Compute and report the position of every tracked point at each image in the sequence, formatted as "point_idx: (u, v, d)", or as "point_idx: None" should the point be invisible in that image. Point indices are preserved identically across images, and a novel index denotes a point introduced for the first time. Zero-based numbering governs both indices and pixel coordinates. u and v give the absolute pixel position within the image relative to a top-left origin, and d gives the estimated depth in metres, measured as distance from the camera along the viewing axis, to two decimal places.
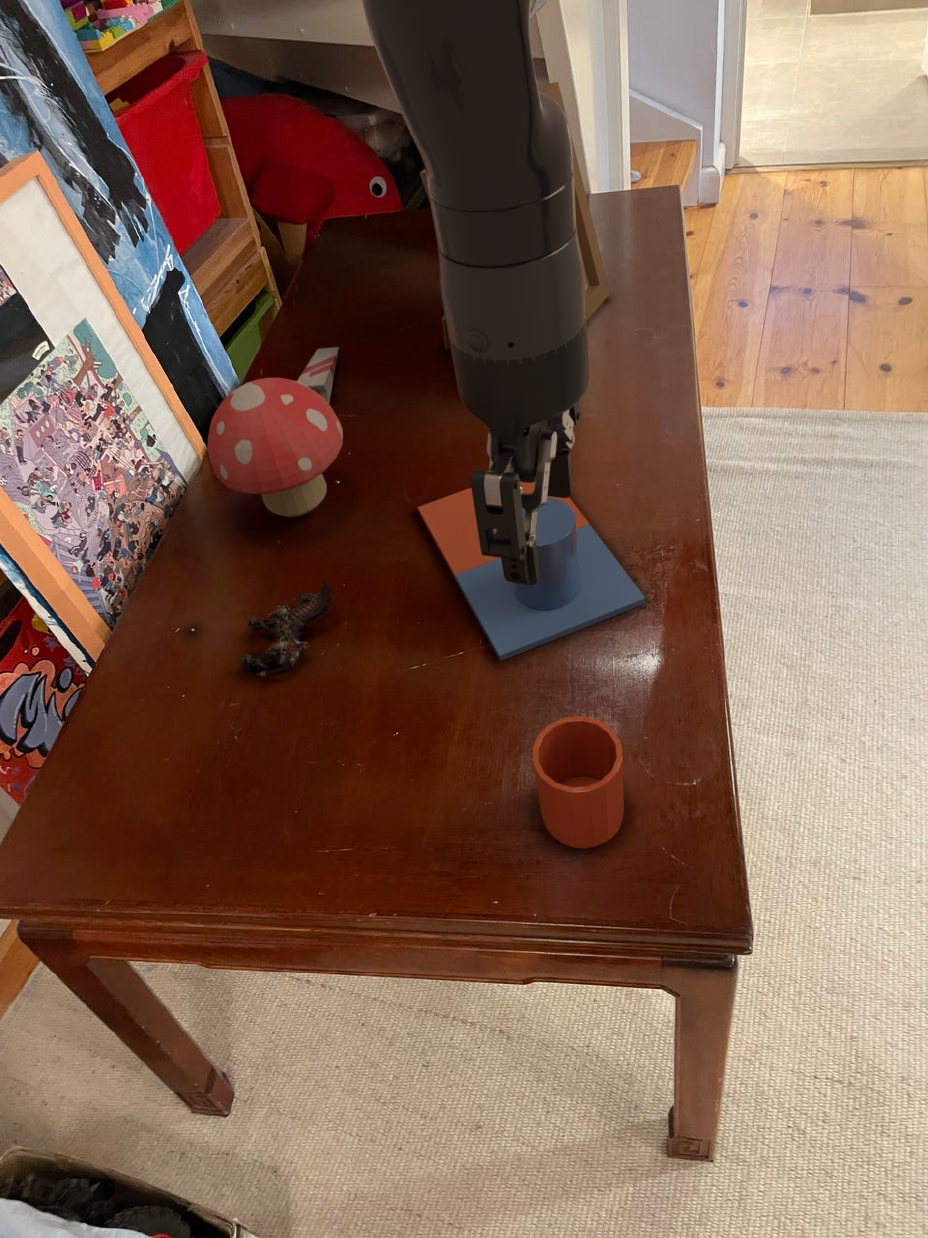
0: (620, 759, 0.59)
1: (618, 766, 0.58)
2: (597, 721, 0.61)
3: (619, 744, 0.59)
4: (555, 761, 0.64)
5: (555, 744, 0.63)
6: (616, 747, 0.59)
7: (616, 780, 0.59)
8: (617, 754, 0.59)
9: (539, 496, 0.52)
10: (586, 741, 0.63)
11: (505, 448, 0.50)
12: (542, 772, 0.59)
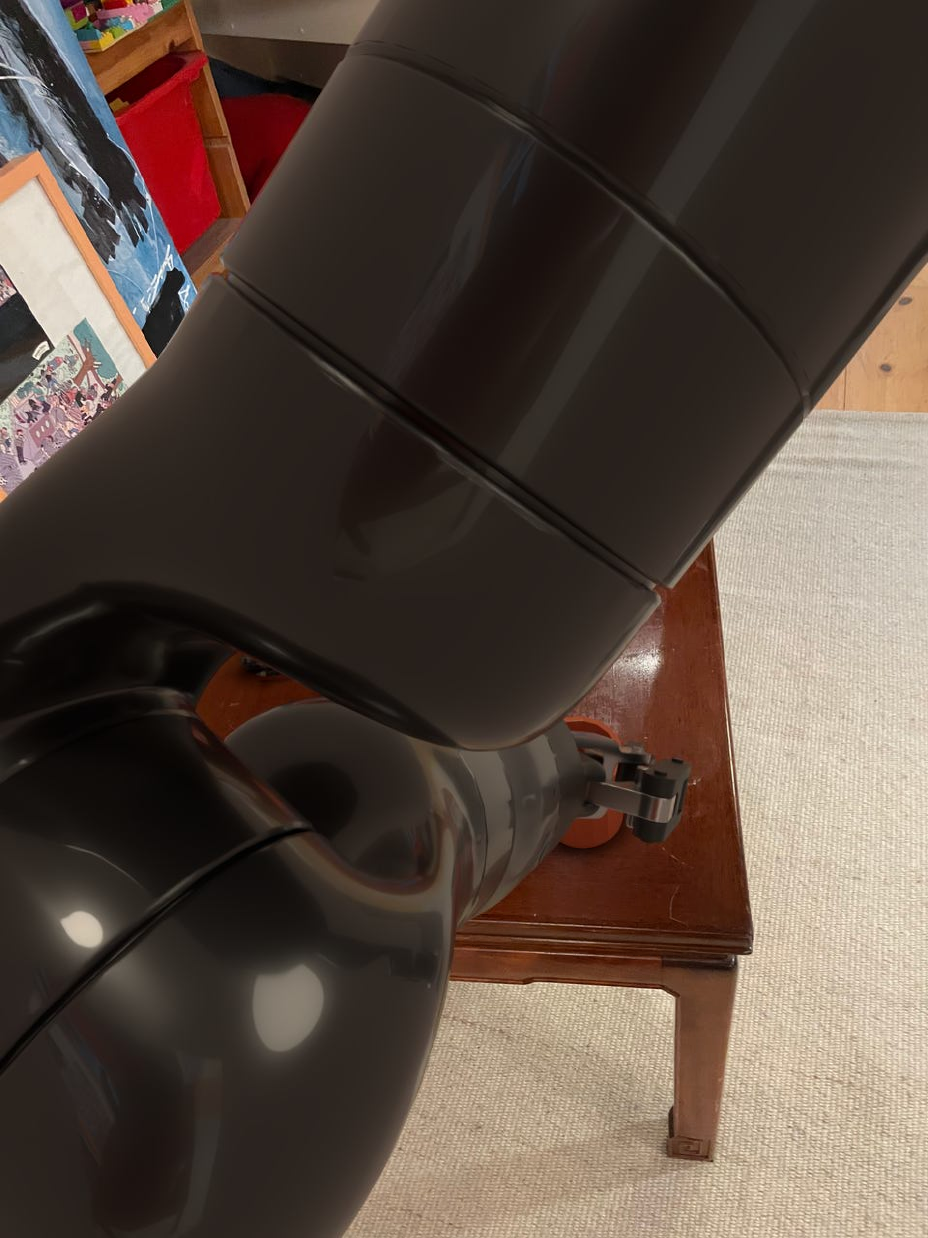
0: None
1: None
2: (597, 721, 0.61)
3: (619, 744, 0.59)
4: None
5: None
6: None
7: None
8: None
9: (607, 742, 0.37)
10: None
11: (585, 794, 0.34)
12: None
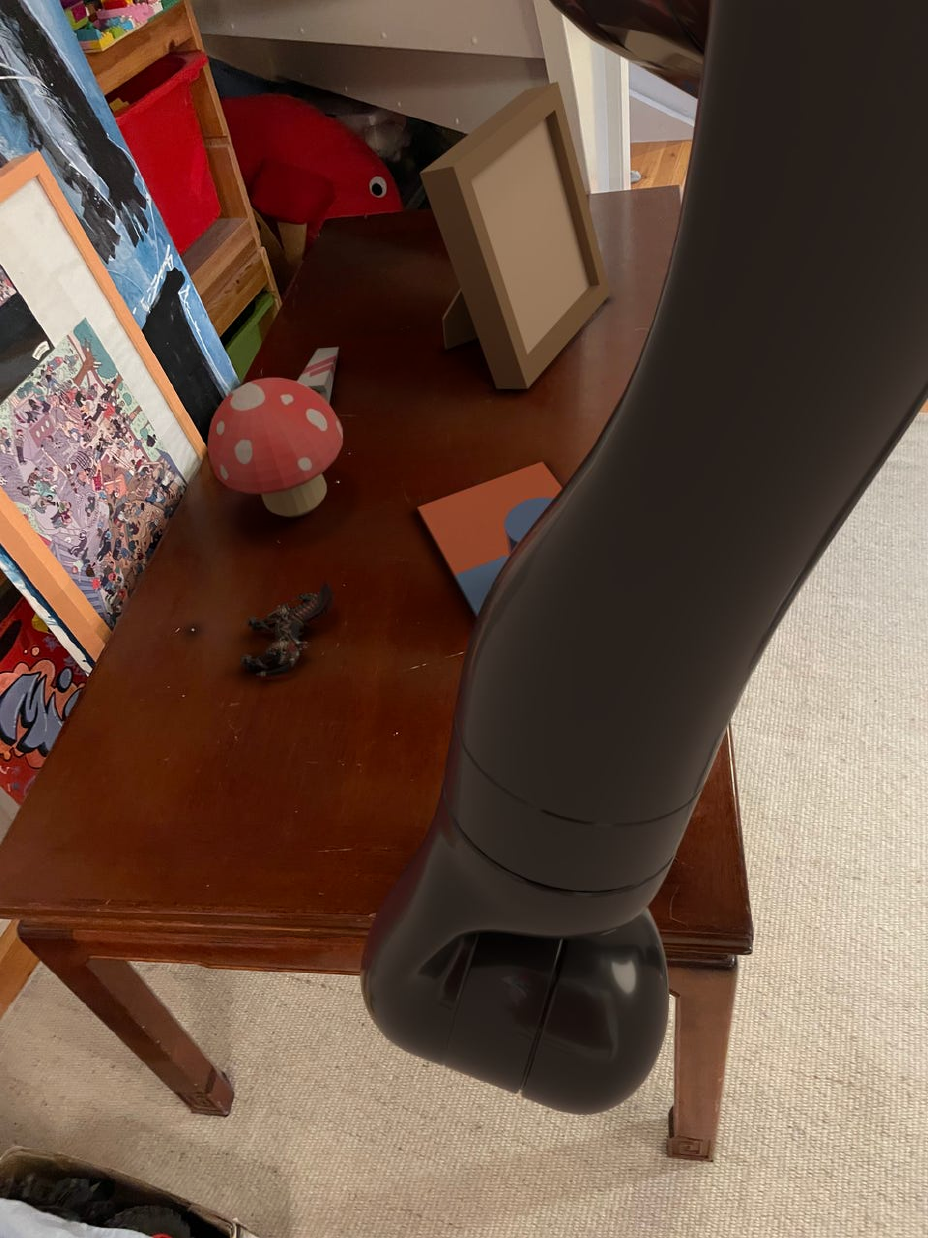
0: None
1: None
2: None
3: None
4: None
5: None
6: None
7: None
8: None
9: None
10: None
11: None
12: None
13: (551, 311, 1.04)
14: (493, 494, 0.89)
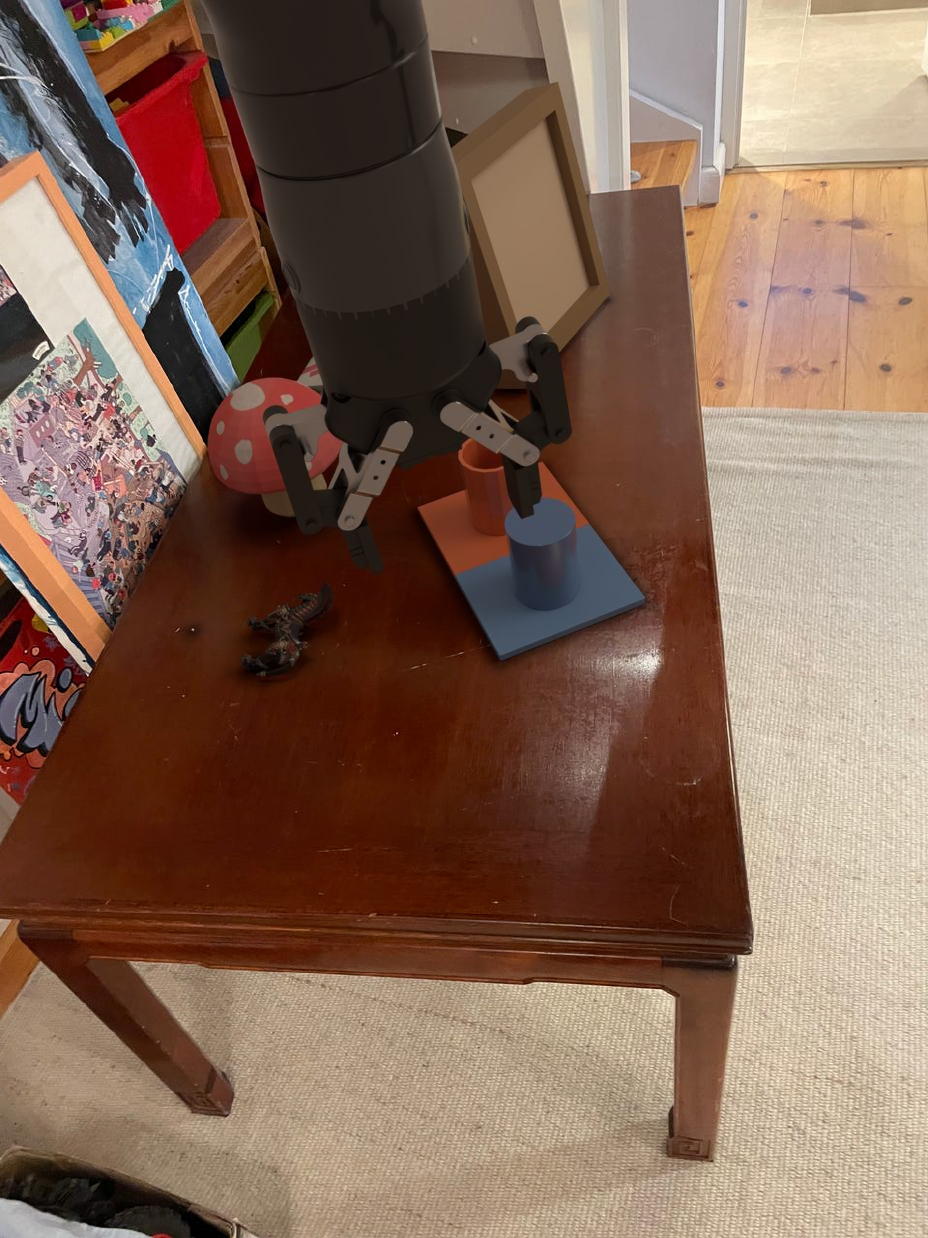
0: None
1: None
2: None
3: None
4: None
5: (478, 455, 0.84)
6: None
7: None
8: None
9: None
10: None
11: None
12: (464, 462, 0.81)
13: (551, 311, 1.04)
14: None
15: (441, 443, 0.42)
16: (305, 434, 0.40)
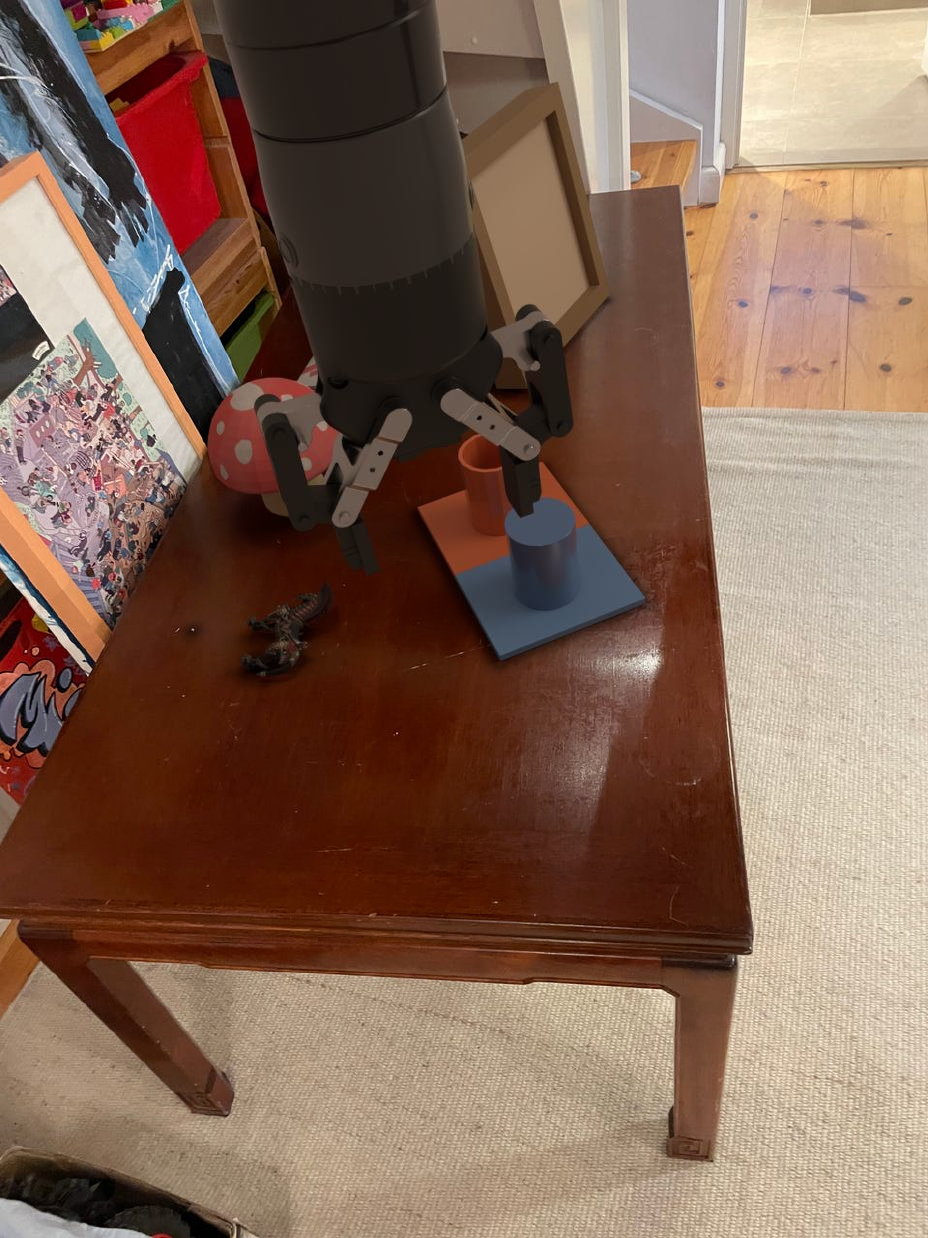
0: None
1: None
2: None
3: None
4: None
5: (478, 455, 0.84)
6: None
7: None
8: None
9: None
10: None
11: None
12: (464, 462, 0.81)
13: (551, 311, 1.04)
14: None
15: (440, 434, 0.40)
16: (299, 423, 0.38)
